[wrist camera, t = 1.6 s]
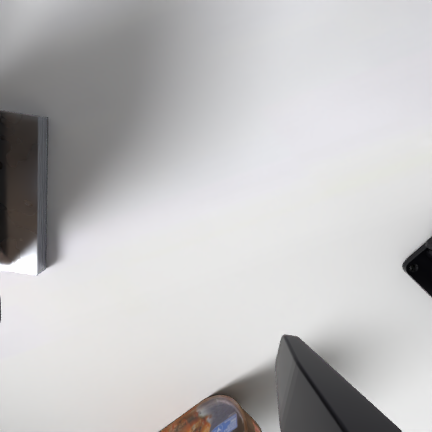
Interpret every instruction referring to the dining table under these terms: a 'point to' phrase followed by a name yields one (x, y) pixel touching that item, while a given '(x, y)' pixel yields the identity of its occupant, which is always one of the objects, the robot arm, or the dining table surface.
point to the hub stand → (23, 192)
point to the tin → (214, 417)
